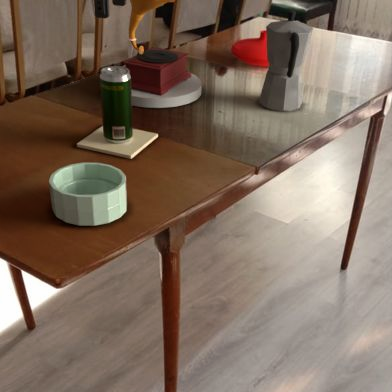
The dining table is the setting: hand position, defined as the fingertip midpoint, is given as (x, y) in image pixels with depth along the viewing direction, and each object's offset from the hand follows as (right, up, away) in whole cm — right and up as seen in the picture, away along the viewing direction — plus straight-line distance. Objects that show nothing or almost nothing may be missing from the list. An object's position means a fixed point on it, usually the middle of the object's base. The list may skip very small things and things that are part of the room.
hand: (111, 11), depth 101 cm
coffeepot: (+32, -3, +32) cm, 45 cm away
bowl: (-3, -33, -5) cm, 34 cm away
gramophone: (+5, +2, +36) cm, 36 cm away
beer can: (-1, -16, +14) cm, 21 cm away
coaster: (-1, -16, +14) cm, 22 cm away
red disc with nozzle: (+30, +16, +53) cm, 63 cm away
